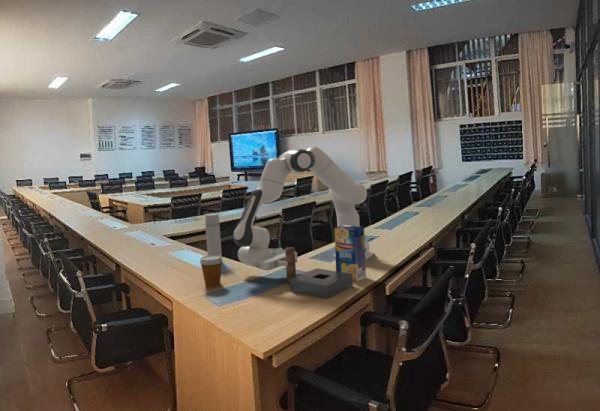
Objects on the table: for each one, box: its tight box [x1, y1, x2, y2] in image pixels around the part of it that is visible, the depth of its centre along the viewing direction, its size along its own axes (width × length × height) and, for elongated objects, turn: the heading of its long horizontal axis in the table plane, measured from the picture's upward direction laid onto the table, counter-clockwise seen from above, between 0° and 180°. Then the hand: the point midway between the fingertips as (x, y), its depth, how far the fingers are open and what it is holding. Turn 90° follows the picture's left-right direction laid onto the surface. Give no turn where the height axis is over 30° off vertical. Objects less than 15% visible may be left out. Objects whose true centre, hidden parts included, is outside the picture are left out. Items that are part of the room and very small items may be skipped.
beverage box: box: [334, 225, 367, 282], centre depth 192 cm, size 7×11×22 cm, turn 46°
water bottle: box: [203, 213, 223, 259], centre depth 231 cm, size 9×8×25 cm
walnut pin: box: [284, 246, 297, 283], centre depth 189 cm, size 4×4×14 cm
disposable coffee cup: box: [199, 255, 223, 288], centre depth 191 cm, size 10×10×12 cm
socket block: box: [289, 267, 354, 300], centre depth 179 cm, size 18×18×5 cm
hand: (292, 262), depth 188 cm, fingers closed on walnut pin, 4 cm apart
